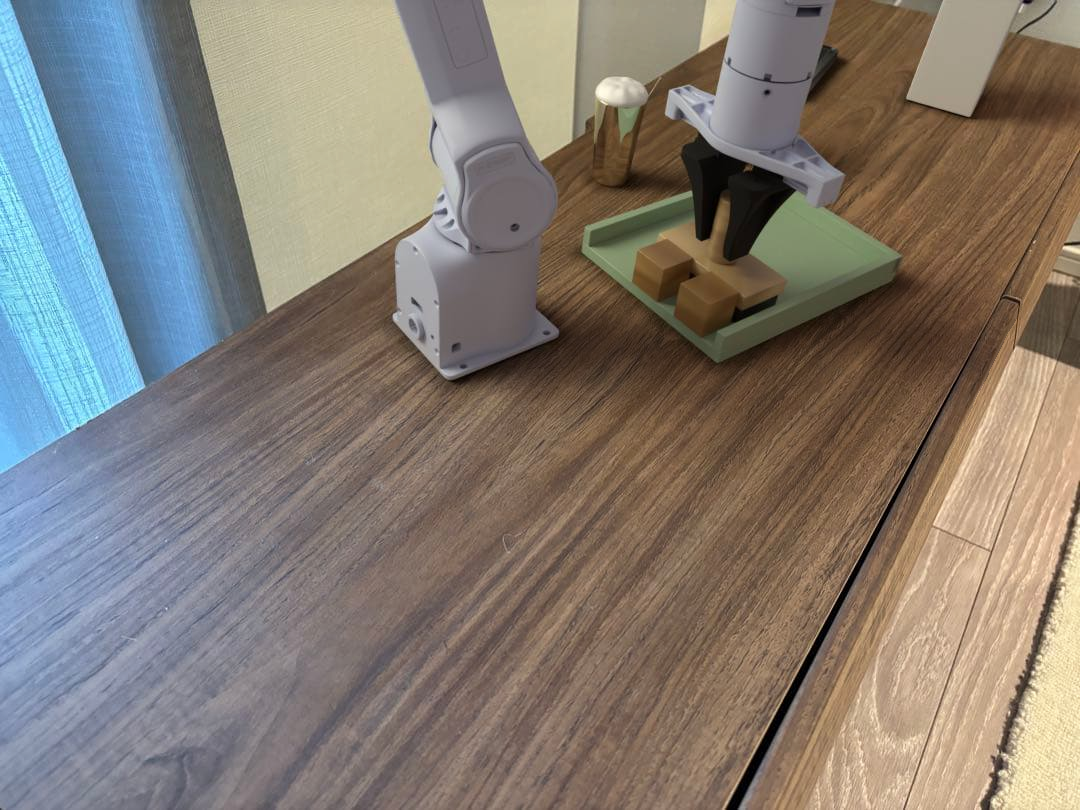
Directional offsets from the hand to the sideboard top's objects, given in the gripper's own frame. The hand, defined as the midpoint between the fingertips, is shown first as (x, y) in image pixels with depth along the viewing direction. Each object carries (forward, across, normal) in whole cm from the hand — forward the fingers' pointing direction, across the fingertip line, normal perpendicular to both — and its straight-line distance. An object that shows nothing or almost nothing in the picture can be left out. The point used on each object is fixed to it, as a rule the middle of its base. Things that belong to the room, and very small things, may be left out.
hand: (721, 245), depth 65 cm
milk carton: (+5, +14, -50) cm, 52 cm away
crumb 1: (+4, +2, +3) cm, 6 cm away
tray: (+5, +2, -5) cm, 7 cm away
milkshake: (+5, +18, -5) cm, 19 cm away
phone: (+5, +28, -39) cm, 48 cm away
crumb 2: (+4, -3, +3) cm, 6 cm away
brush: (+4, 0, 0) cm, 4 cm away
